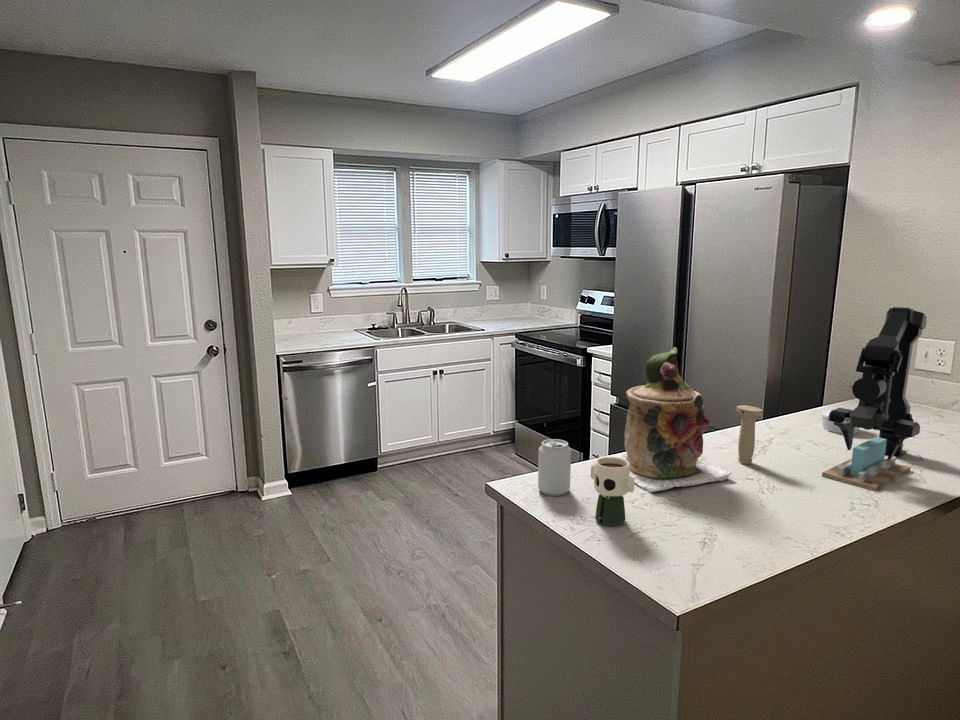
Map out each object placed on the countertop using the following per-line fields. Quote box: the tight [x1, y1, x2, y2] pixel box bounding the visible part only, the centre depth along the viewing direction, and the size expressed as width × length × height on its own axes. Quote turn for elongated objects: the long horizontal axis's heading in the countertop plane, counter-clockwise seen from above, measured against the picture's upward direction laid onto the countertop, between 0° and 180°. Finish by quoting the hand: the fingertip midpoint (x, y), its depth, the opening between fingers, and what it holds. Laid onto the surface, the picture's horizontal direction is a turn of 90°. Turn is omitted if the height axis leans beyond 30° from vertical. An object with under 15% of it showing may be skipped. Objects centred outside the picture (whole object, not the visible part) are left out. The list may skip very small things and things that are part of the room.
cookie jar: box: [598, 346, 732, 493], centre depth 154 cm, size 25×25×32 cm
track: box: [821, 456, 912, 492], centre depth 154 cm, size 22×12×3 cm, turn 127°
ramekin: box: [820, 409, 860, 434], centre depth 191 cm, size 11×11×5 cm
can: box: [537, 438, 572, 497], centre depth 143 cm, size 8×8×12 cm
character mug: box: [590, 457, 635, 526], centre depth 127 cm, size 11×7×13 cm, turn 40°
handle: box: [735, 404, 763, 465], centre depth 161 cm, size 5×6×15 cm
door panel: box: [850, 436, 887, 476], centre depth 154 cm, size 14×2×7 cm, turn 127°
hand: (868, 454), depth 154 cm, fingers open, 9 cm apart
